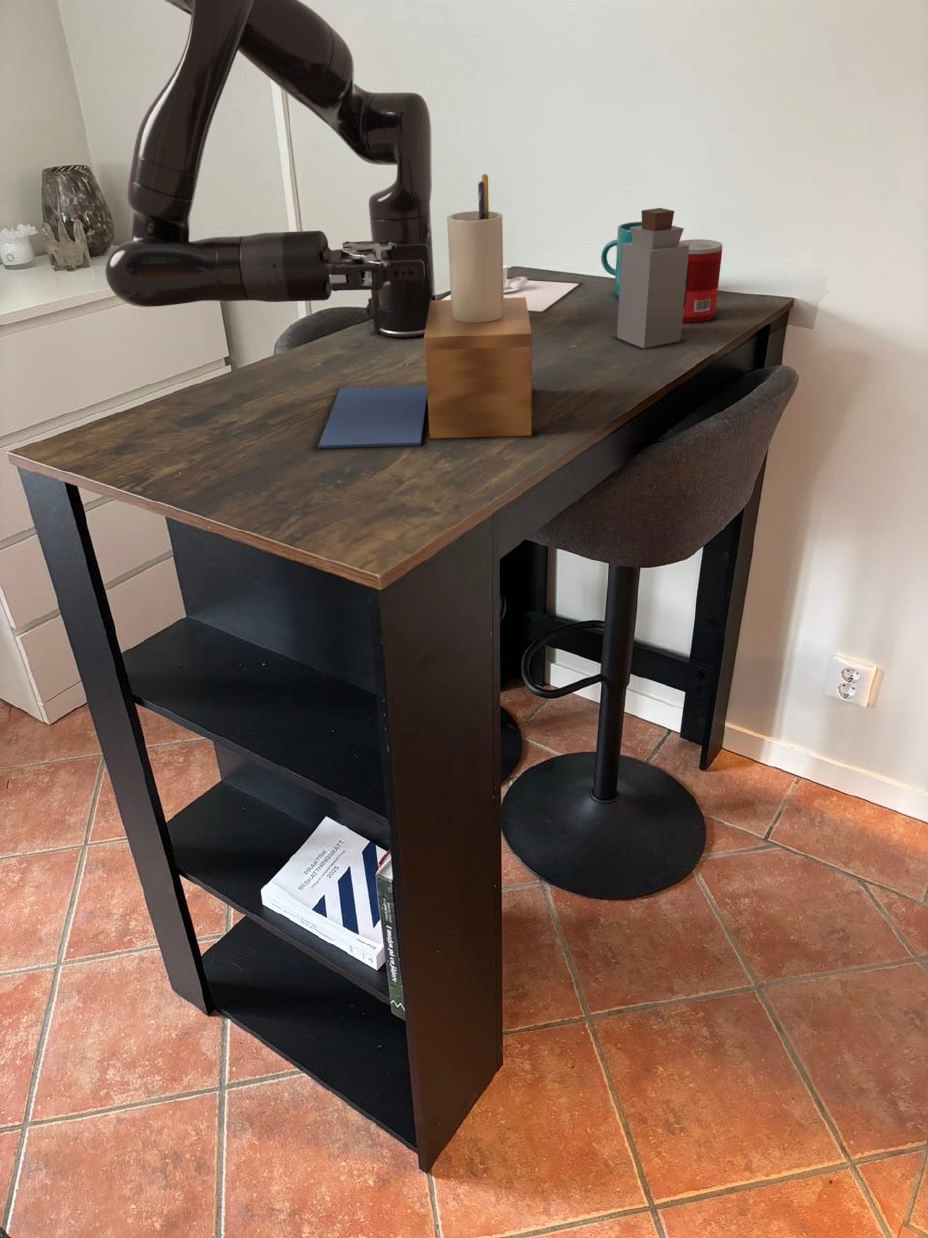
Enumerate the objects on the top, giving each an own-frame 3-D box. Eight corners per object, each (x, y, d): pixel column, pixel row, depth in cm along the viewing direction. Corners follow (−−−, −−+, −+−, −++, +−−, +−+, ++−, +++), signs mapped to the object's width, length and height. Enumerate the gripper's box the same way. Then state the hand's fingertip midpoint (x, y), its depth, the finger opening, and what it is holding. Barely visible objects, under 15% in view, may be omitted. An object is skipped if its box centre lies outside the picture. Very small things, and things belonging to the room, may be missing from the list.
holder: (443, 321, 107) (436, 178, 99) (462, 307, 112) (457, 170, 103) (493, 324, 105) (491, 179, 97) (510, 310, 110) (509, 171, 101)
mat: (318, 448, 107) (318, 445, 107) (340, 390, 124) (340, 388, 124) (420, 445, 107) (420, 442, 106) (428, 388, 123) (428, 385, 123)
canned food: (721, 312, 149) (729, 240, 143) (704, 325, 143) (712, 250, 137) (676, 307, 152) (683, 237, 146) (658, 319, 147) (664, 247, 141)
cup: (608, 285, 167) (611, 219, 161) (673, 290, 162) (678, 222, 156) (591, 297, 160) (593, 228, 154) (657, 303, 155) (663, 232, 149)
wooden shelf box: (430, 438, 108) (423, 336, 102) (435, 392, 122) (430, 300, 115) (531, 435, 108) (531, 333, 101) (525, 389, 121) (525, 296, 115)
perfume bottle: (643, 348, 134) (653, 216, 125) (616, 337, 140) (623, 210, 130) (680, 340, 137) (692, 210, 127) (652, 330, 142) (662, 204, 132)
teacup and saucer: (531, 286, 168) (531, 262, 166) (515, 296, 162) (515, 272, 160) (487, 283, 171) (487, 260, 169) (470, 293, 165) (469, 270, 163)
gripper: (269, 245, 98) (420, 239, 97) (292, 220, 109) (427, 215, 109) (280, 316, 102) (425, 311, 101) (301, 285, 114) (431, 280, 113)
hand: (426, 261), depth 105 cm, fingers open, 8 cm apart
